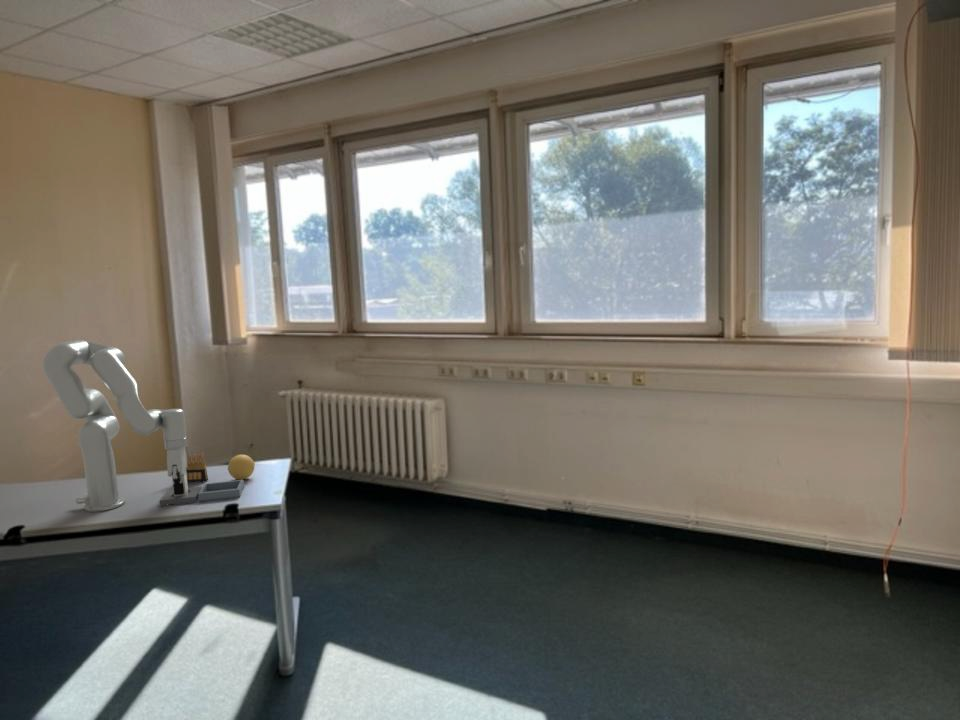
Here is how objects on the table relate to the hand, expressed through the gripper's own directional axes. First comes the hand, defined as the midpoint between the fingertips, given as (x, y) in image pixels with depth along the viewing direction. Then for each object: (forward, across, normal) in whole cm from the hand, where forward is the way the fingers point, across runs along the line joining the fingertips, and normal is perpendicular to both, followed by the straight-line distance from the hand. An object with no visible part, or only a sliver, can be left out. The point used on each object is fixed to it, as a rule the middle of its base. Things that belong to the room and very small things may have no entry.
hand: (181, 491), depth 238 cm
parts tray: (+3, 0, +14) cm, 14 cm away
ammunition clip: (+3, -21, 0) cm, 21 cm away
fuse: (+3, 0, 0) cm, 3 cm away
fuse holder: (+3, 0, 0) cm, 3 cm away
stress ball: (+3, -17, +19) cm, 26 cm away
